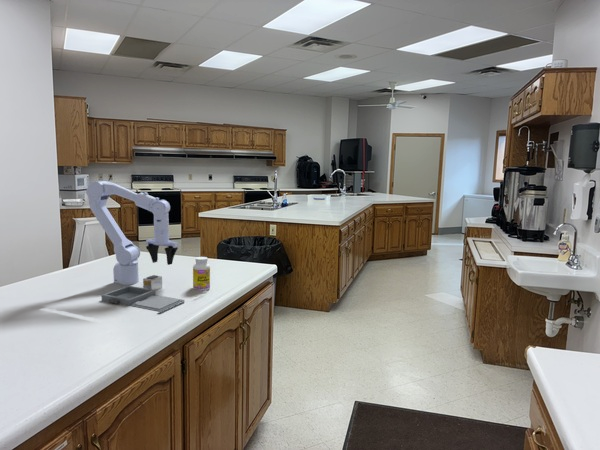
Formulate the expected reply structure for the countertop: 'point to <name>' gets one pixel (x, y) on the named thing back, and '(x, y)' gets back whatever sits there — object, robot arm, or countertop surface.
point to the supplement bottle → (201, 274)
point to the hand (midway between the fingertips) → (162, 263)
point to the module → (152, 282)
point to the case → (141, 299)
